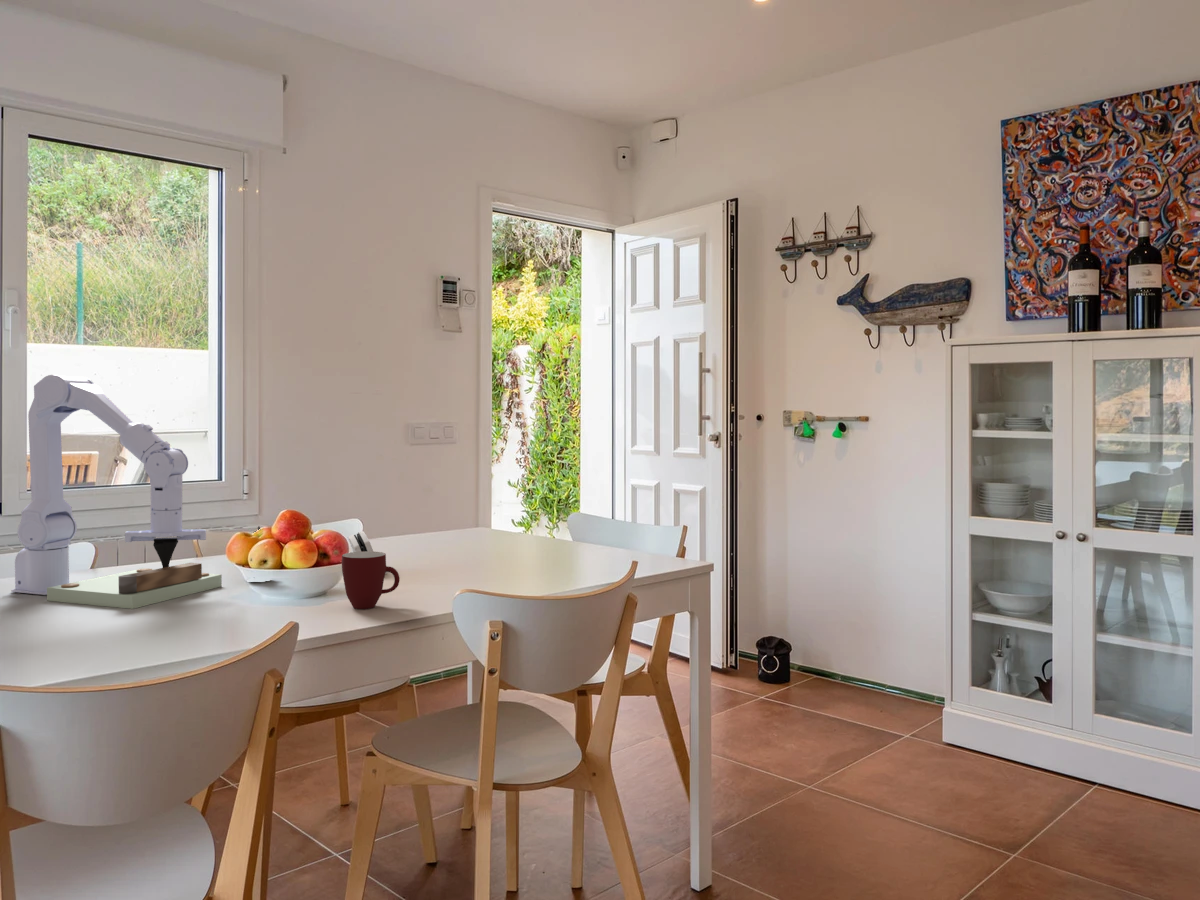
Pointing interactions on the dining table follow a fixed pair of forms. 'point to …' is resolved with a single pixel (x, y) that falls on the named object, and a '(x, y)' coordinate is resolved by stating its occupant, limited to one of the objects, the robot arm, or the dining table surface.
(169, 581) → the folding leg
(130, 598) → the stool seat
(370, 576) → the mug
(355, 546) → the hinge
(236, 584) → the dining table surface
